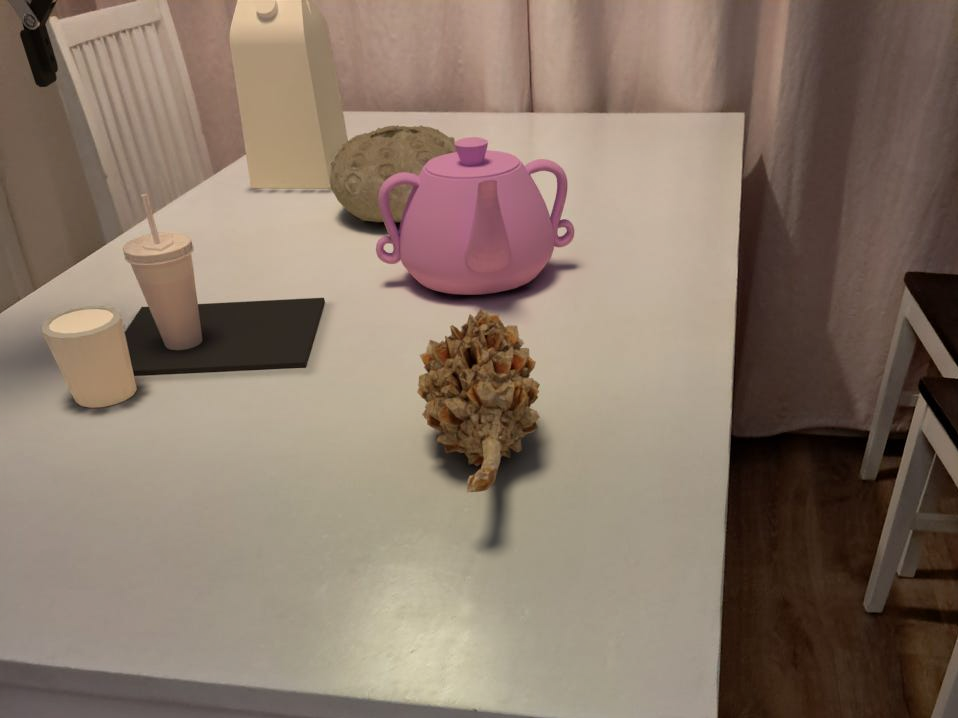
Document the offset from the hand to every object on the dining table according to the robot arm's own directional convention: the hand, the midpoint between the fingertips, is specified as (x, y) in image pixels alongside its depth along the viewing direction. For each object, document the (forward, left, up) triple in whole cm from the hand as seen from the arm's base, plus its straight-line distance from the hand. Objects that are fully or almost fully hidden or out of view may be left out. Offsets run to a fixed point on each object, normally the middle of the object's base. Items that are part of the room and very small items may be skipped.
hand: (6, 83), depth 77 cm
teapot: (+39, +13, -24) cm, 47 cm away
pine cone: (+39, -26, -24) cm, 53 cm away
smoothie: (+9, 0, -23) cm, 25 cm away
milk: (+13, +59, -24) cm, 65 cm away
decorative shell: (+29, +39, -24) cm, 54 cm away
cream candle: (+4, -9, -24) cm, 26 cm away
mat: (+12, +2, -24) cm, 27 cm away
